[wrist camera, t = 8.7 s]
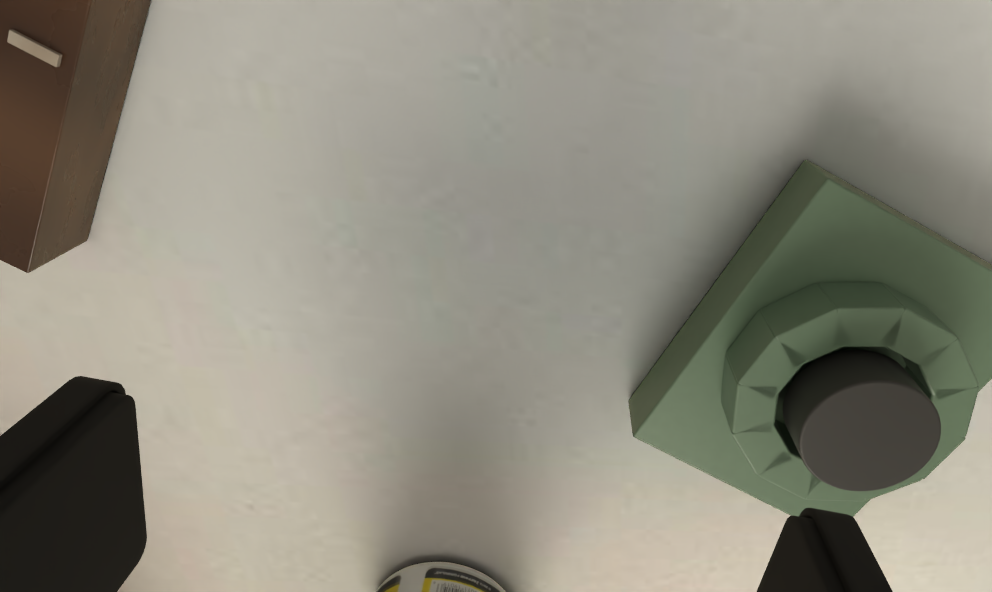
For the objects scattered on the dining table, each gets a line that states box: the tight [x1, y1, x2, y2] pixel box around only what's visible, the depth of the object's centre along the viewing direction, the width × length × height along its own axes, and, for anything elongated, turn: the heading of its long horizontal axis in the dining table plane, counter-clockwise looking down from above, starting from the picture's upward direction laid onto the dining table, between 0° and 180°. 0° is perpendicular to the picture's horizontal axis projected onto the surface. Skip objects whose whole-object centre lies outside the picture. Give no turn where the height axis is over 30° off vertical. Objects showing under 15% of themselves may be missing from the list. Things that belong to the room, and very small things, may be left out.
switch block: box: [629, 160, 992, 517], centre depth 22 cm, size 10×8×4 cm
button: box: [783, 350, 941, 491], centre depth 20 cm, size 4×4×2 cm
